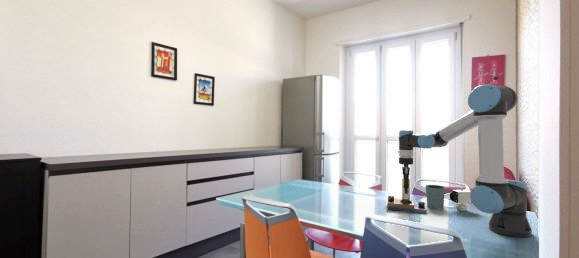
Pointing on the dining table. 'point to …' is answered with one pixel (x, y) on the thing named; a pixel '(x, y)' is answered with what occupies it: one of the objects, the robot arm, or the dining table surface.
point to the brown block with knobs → (405, 206)
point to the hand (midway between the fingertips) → (405, 197)
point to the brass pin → (403, 193)
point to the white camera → (461, 198)
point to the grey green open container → (435, 196)
